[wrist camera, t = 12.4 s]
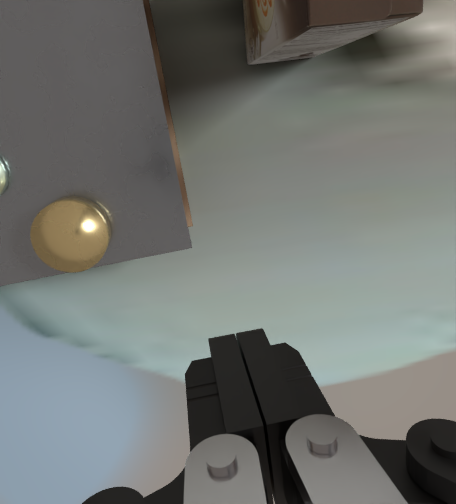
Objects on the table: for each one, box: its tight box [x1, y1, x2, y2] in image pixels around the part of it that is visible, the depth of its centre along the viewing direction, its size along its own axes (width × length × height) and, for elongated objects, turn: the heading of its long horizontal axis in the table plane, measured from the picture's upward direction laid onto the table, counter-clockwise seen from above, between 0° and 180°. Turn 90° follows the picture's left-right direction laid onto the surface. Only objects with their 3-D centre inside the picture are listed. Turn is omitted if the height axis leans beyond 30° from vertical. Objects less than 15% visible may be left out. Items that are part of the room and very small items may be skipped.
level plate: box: [0, 0, 192, 286], centre depth 27 cm, size 22×16×4 cm
